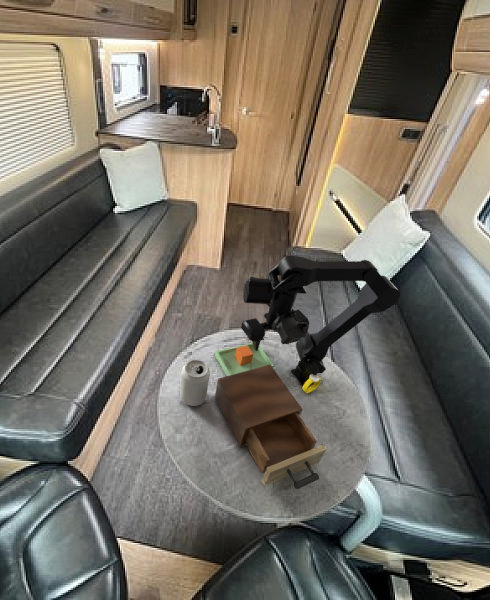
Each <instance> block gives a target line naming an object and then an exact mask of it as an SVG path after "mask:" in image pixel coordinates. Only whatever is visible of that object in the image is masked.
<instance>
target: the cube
mask: <svg viewBox="0 0 490 600" xmlns="http://www.w3.org/2000/svg"><path fill="white" fill-rule="evenodd" d="M235 358H236V360H237V361H238V363H239V364H240V366H241V365H245V364H249V363H251V362H252V358H253V353H252V351H251V350H250V348H249V347H248V346H244V347H239V348H237V349H236V353H235Z"/></svg>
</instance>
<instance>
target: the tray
mask: <svg viewBox="0 0 490 600" xmlns="http://www.w3.org/2000/svg"><path fill="white" fill-rule="evenodd" d="M244 346H248V347H249V348H250V350H251V351H252V353H253V358H252V362H251V363H249V364H245V365H241V366H240V364H239V363H238V361H237V360H236V358H235V353H236V349H237V348H239V347H244ZM214 356H215V358H216V360H217V363H218V364H219V365H220V367H221V369H222V370H223V372H224V374H225V375H226V376H230V375H233V374H237V373H241V372H244V371H248V370H252V369H256V368H259V367H263V366H267V365H271V366H272V368H273V369H274V368H275V365H274V363H273V362H272V361H271V359H270V358H269V356H268V355H267V354H266V353H265V351H264V349H262V347H261V345H259V348H258V350H257V351H255V349H254V346H253V343H252V342H250V343H246V344H241V345H237V346H233V347H228V348H224V349H220V350H216V351H215V355H214Z"/></svg>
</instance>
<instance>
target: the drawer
mask: <svg viewBox="0 0 490 600" xmlns="http://www.w3.org/2000/svg"><path fill="white" fill-rule="evenodd" d="M244 441H245V443H246V445H245V446H246V447H247V449H248V451H249V453H250V454H251V457H252V459H253V461H254V463H255V464H256V466H257V468H258V470H259V471H260V473H261V474H264V475H263V476H262V479H261V483H262V485H263V486H264V487H266V486H268V485H271V484H273V483H275V482H278V481H281V480H282V479H285V478H287V477H289V478H290V479H291V481H292V485H293V488H294V489H295V490H300V489H301V488H304V487H306V486H308V485H310V484H312V483H314V482H317V481H318V480H320V475H319V474H318V473H317V472H315V471H314V469H313V466H315V465H317V464H319V462H320V461H321V459H322V457H323V456H324V454H325V453H326V451H327V447H326V446H325V444H321V445H319V446H316V444H317V442H318V439H316V437H315V436H314V434H313V433H312V431H311V430H310V429H309V427H308V425H306V423H305V422H304V420H303V419H302V417H301V415H300V416H299V415H298V413H294V414H291V415H288V416H285V417H282V418H279V419H277V420H274V421H271V422H268V423H265V424H262V425H259V426H256V427H254V428H251V429H248V430H247V433H246V437H245V440H244ZM315 446H316V447H315ZM306 469H308V471H309V473H310V474H309V475H307V476H305V477H303V478H301V479H297V478H296V477H295V476H294V474H296V473H299V472H301V471H303V470H306ZM296 479H297V480H296Z"/></svg>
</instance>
